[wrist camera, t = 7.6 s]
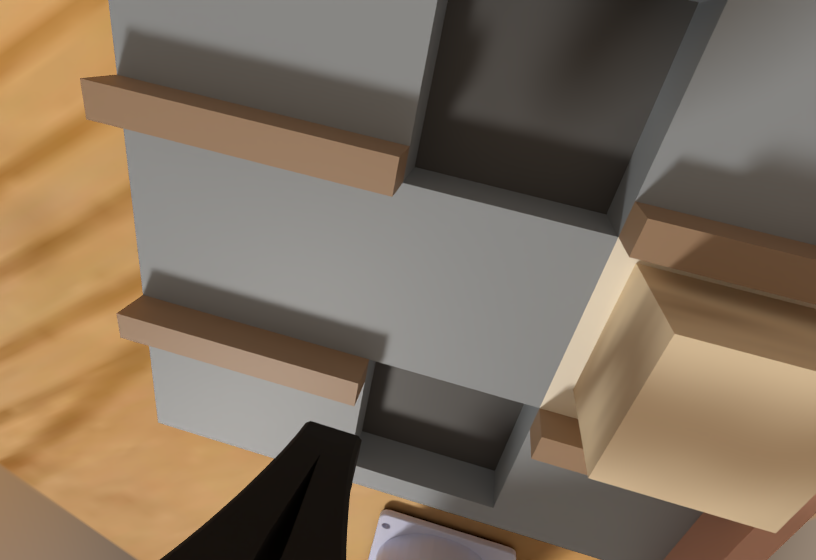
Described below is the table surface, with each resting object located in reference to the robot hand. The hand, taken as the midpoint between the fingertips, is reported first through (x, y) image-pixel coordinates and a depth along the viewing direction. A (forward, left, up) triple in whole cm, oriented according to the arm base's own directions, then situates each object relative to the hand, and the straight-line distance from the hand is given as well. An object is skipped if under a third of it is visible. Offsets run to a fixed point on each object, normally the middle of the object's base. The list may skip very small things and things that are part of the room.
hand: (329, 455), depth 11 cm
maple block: (+2, -10, -7) cm, 12 cm away
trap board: (+1, -2, -9) cm, 10 cm away
